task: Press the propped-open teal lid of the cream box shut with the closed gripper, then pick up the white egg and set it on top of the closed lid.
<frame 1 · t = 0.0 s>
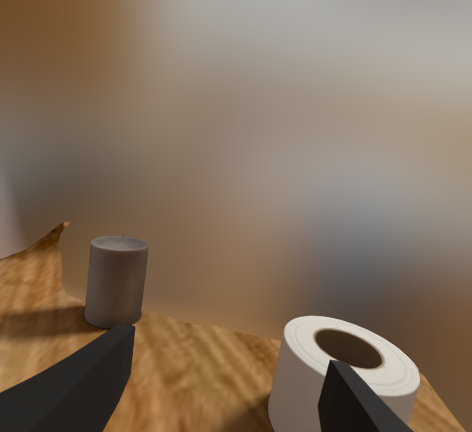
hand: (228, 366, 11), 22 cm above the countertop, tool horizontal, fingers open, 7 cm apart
pillar candle: (112, 316, 54), on the countertop
toilet paper roll: (328, 426, 37), on the countertop
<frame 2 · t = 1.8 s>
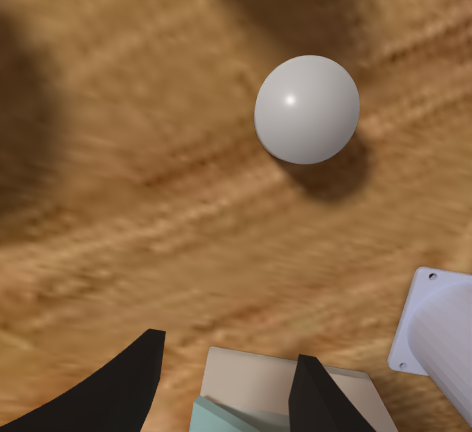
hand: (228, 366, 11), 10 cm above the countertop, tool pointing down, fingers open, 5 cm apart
white egg: (294, 119, 19), on the countertop
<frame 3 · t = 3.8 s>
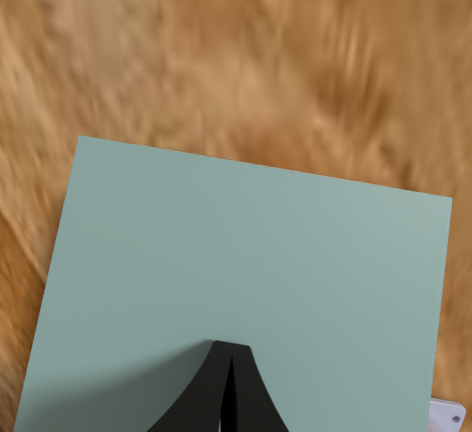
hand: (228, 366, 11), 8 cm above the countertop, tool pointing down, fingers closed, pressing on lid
lid: (237, 324, 11), point 7 cm above the countertop, hinge at 17.3°, touching gripper
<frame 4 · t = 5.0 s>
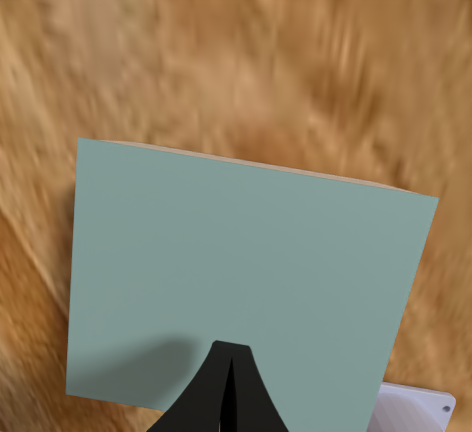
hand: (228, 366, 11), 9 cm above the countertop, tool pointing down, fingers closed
lid: (234, 302, 14), point 5 cm above the countertop, hinge at 0.6°
box: (238, 256, 19), on the countertop
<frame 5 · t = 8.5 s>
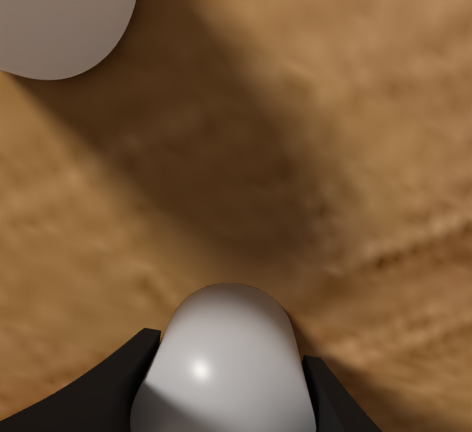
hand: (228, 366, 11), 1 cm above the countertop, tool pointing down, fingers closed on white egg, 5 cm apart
white egg: (230, 341, 12), on the countertop, touching gripper
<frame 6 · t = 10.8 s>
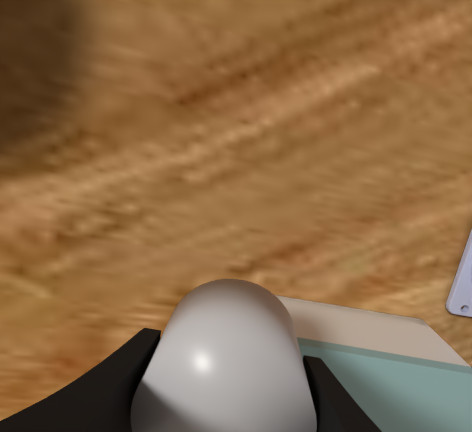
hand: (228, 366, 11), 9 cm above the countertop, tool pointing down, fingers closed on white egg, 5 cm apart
white egg: (231, 338, 12), point 8 cm above the countertop, touching gripper
box: (312, 391, 22), on the countertop
when the fingers open (8 cm above the countertop, at t = 13.0 s): white egg drops 1 cm, resting on lid.
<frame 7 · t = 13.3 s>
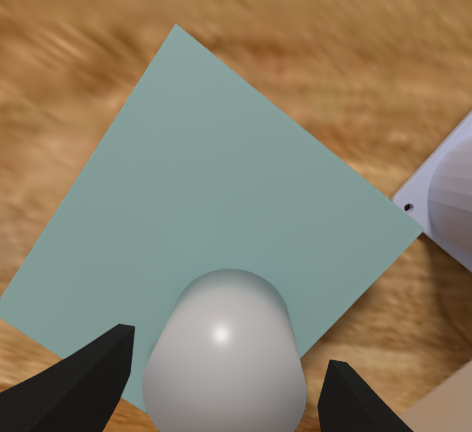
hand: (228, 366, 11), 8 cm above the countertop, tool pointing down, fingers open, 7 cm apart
lid: (195, 270, 13), point 5 cm above the countertop, hinge at -0.1°, touching white egg
white egg: (231, 323, 13), point 6 cm above the countertop, touching lid
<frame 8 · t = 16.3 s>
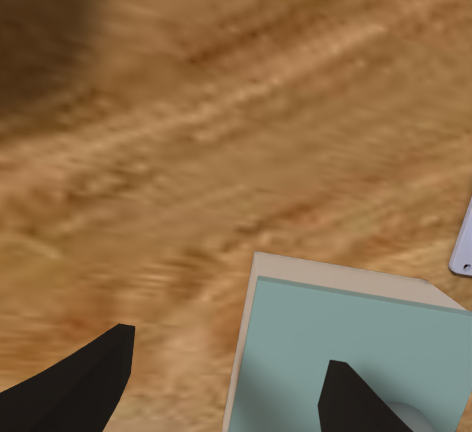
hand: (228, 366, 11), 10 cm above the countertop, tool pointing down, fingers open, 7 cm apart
lid: (342, 414, 17), point 5 cm above the countertop, hinge at -0.1°, touching white egg
box: (317, 352, 22), on the countertop
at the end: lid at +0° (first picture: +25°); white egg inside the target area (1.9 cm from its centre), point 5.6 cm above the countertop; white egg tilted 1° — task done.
